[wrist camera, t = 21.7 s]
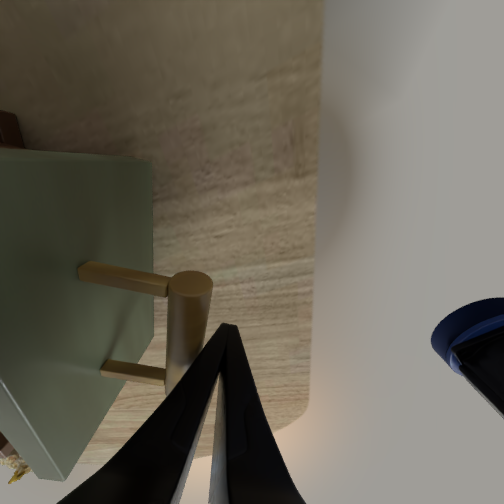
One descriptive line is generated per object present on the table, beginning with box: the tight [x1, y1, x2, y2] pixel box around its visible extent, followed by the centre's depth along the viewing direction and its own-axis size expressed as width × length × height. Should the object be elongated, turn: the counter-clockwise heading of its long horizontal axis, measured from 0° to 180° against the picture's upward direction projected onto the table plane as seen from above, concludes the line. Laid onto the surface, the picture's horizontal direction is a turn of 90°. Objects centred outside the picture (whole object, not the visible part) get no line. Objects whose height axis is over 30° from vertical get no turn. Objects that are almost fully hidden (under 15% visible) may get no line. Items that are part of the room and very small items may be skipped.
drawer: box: [0, 143, 213, 482], centre depth 9 cm, size 19×14×8 cm
